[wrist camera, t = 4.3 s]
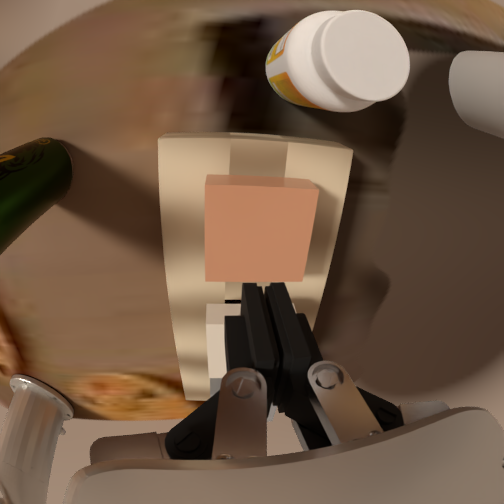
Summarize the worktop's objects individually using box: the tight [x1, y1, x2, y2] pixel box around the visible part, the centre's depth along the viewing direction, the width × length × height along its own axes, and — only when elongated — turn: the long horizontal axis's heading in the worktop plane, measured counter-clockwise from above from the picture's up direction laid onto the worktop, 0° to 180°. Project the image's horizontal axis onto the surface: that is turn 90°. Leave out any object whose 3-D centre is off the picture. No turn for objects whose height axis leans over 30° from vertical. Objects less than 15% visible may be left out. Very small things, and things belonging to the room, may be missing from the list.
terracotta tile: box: [205, 174, 319, 282], centre depth 18 cm, size 6×6×4 cm
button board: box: [158, 132, 353, 400], centre depth 24 cm, size 27×12×3 cm, turn 176°
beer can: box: [0, 138, 73, 255], centre depth 13 cm, size 5×5×12 cm
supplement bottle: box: [266, 10, 410, 112], centre depth 12 cm, size 5×5×10 cm
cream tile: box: [206, 303, 296, 378], centre depth 21 cm, size 6×6×4 cm
